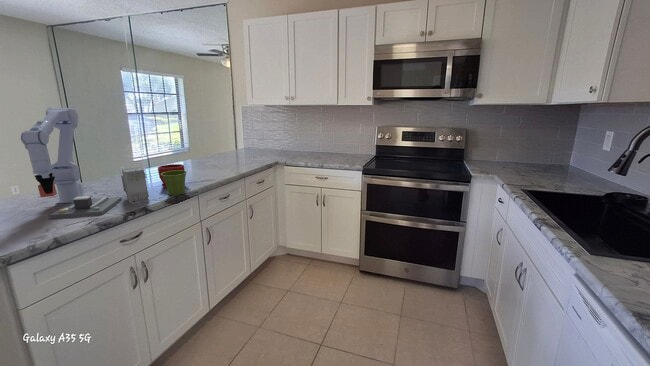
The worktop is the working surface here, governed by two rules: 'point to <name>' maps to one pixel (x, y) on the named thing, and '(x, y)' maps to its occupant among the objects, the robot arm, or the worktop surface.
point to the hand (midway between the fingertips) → (48, 192)
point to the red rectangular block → (42, 193)
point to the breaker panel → (96, 209)
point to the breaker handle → (82, 202)
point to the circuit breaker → (135, 185)
